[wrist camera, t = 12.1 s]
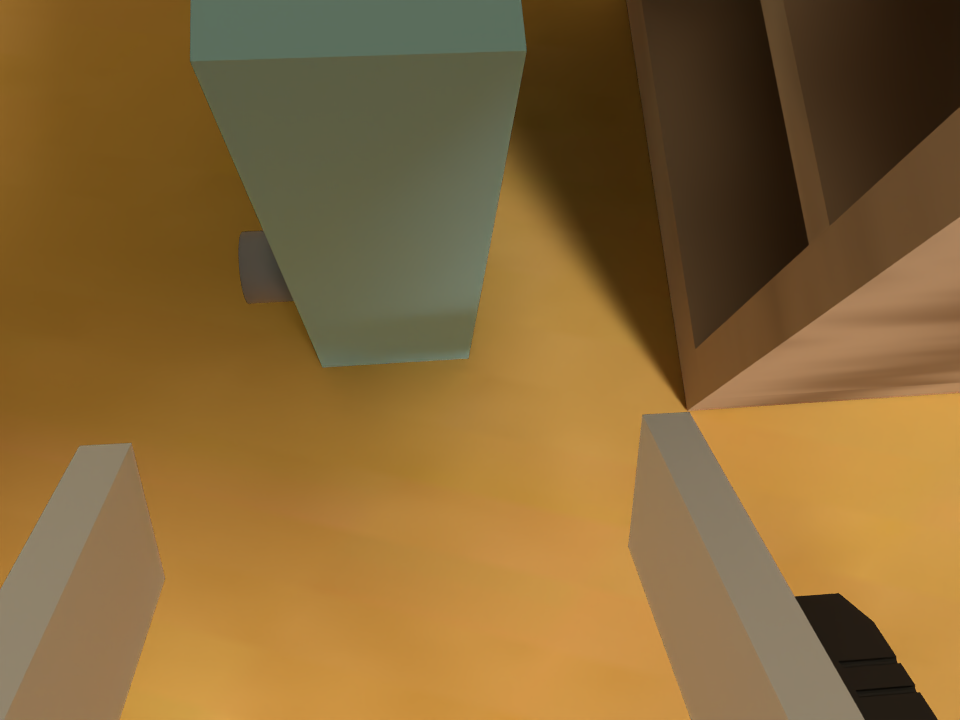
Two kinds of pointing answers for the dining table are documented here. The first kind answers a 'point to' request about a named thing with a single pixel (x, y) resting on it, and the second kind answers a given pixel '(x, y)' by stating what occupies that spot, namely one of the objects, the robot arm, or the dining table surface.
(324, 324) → the door
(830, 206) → the cabinet
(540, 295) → the dining table surface
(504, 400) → the dining table surface
